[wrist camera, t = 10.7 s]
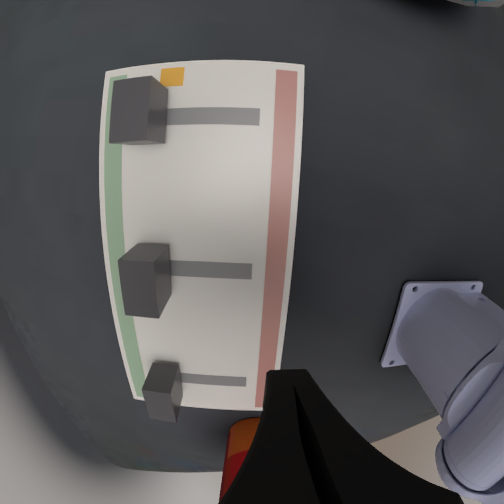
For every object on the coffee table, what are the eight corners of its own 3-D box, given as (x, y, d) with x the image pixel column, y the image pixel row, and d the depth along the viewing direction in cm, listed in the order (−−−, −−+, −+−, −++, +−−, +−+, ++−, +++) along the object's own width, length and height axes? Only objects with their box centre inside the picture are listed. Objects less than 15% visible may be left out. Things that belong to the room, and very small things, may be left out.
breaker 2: (168, 244, 16) (153, 261, 13) (171, 294, 17) (159, 318, 14) (137, 243, 16) (117, 259, 13) (142, 291, 17) (125, 315, 14)
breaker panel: (299, 72, 15) (304, 64, 13) (272, 398, 23) (273, 410, 21) (115, 77, 15) (105, 71, 13) (138, 387, 22) (133, 399, 21)
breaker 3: (178, 365, 19) (170, 393, 16) (183, 394, 20) (176, 422, 17) (152, 362, 19) (141, 389, 16) (158, 391, 20) (150, 418, 17)
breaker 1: (168, 89, 14) (151, 75, 11) (164, 143, 14) (146, 140, 12) (135, 92, 13) (113, 80, 11) (132, 145, 14) (108, 143, 12)
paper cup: (269, 456, 26) (276, 563, 13) (206, 439, 25) (193, 556, 11) (311, 420, 24) (337, 546, 11) (241, 399, 23) (239, 547, 9)
